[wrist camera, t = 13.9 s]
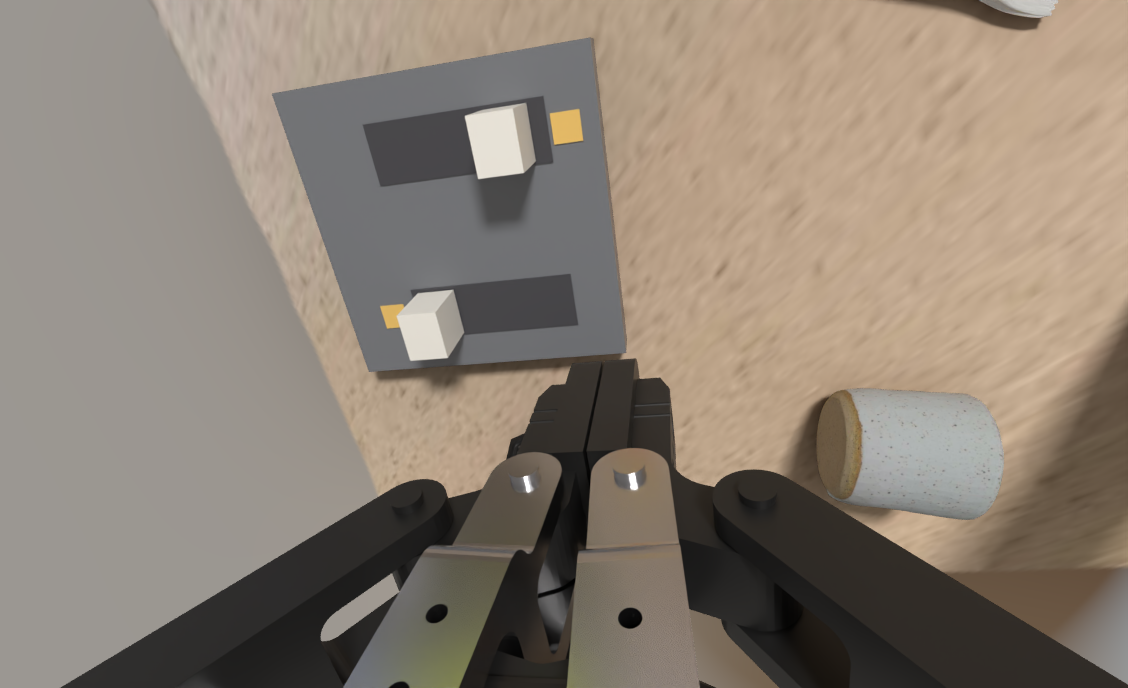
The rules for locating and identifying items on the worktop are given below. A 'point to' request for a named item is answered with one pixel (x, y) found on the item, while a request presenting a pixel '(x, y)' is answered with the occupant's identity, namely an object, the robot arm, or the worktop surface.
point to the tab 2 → (501, 140)
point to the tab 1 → (431, 325)
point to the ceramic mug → (910, 451)
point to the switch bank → (466, 205)
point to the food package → (1023, 7)
